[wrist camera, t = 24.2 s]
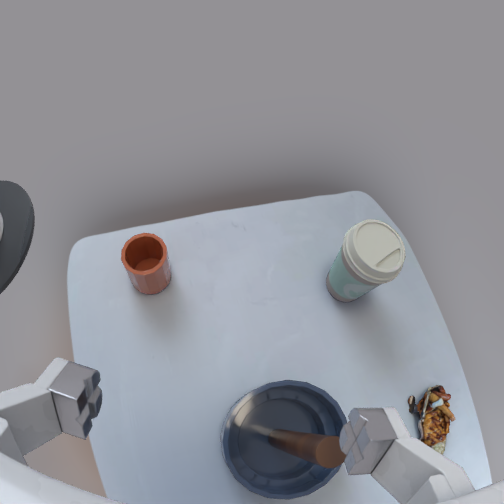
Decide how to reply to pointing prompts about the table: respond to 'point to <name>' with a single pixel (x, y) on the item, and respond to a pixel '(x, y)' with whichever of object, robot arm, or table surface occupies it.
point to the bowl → (278, 417)
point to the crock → (147, 263)
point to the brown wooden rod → (309, 447)
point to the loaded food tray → (433, 417)
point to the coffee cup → (365, 260)
